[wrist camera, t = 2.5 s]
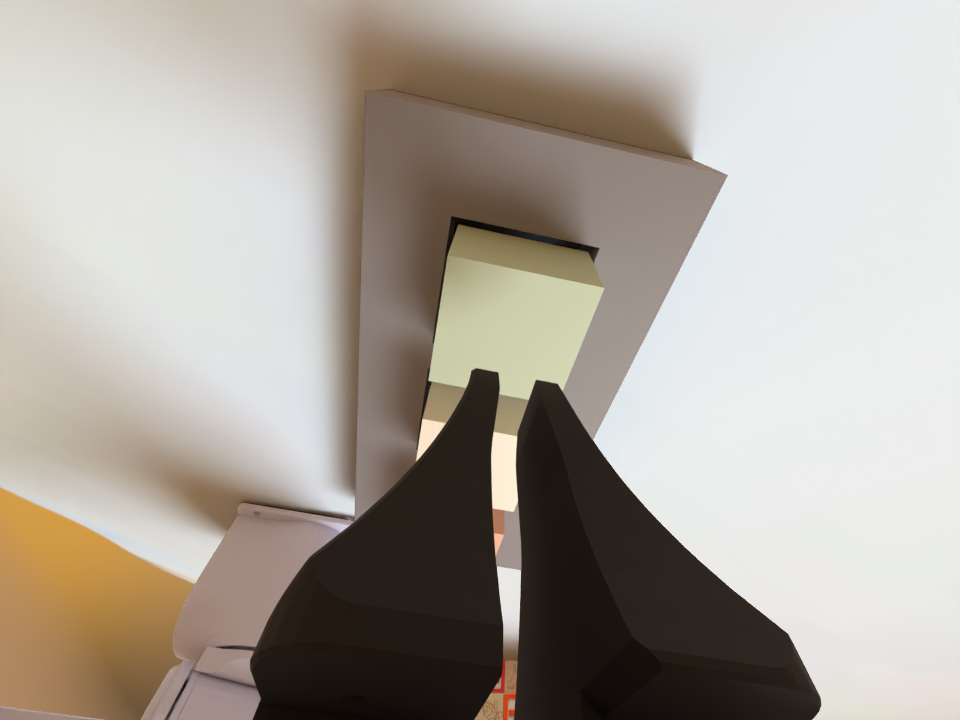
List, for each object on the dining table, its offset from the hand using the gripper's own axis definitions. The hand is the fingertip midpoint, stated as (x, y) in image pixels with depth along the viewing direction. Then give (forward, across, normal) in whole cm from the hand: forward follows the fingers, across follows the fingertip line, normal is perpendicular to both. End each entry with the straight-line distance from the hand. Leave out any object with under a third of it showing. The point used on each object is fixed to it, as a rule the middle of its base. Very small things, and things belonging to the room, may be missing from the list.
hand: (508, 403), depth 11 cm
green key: (+7, 0, 0) cm, 7 cm away
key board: (+9, 0, +7) cm, 12 cm away
